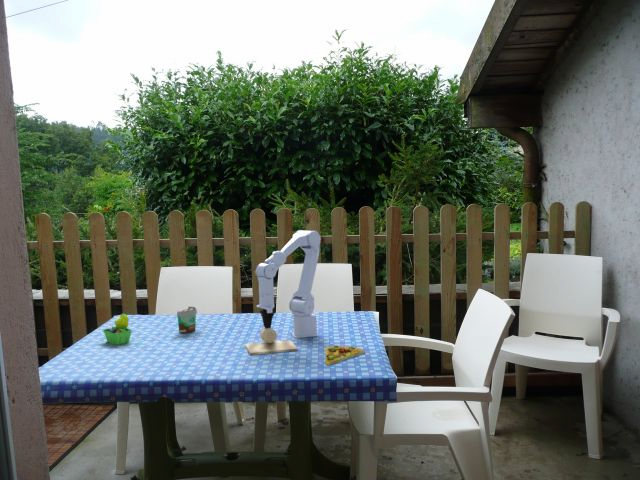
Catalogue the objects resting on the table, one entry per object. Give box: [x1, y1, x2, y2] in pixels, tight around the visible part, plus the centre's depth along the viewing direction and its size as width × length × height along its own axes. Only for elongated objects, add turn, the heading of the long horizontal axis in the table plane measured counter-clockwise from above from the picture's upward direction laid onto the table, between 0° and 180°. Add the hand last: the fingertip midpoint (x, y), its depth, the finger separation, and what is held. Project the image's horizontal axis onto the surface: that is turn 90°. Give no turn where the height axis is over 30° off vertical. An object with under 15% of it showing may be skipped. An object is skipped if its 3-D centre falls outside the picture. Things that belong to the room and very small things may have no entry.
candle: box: [259, 327, 278, 343], centre depth 220 cm, size 6×6×10 cm
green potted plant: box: [102, 313, 133, 346], centre depth 232 cm, size 11×9×11 cm
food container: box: [176, 305, 198, 335], centre depth 248 cm, size 12×6×10 cm, turn 168°
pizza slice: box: [324, 345, 366, 367], centre depth 202 cm, size 16×21×3 cm
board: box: [244, 339, 298, 356], centre depth 216 cm, size 18×14×1 cm
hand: (267, 327), depth 222 cm, fingers closed
